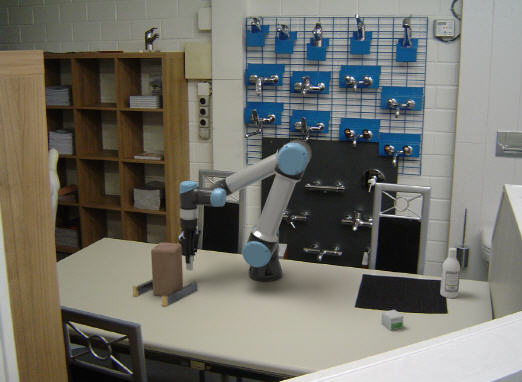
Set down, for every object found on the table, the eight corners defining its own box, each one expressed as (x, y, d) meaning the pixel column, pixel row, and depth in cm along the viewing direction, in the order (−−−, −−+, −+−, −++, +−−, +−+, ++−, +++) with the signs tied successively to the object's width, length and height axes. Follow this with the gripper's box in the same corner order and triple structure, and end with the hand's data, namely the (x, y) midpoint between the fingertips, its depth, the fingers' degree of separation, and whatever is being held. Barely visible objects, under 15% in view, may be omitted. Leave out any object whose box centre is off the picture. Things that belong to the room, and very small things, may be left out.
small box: (390, 331, 193) (391, 318, 192) (380, 324, 198) (381, 311, 197) (403, 328, 196) (404, 315, 194) (393, 321, 201) (394, 309, 200)
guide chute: (197, 290, 228) (197, 281, 227) (165, 306, 213) (165, 297, 212) (166, 280, 238) (165, 272, 237) (133, 295, 223) (132, 286, 222)
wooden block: (175, 297, 221) (173, 250, 216) (152, 295, 223) (150, 249, 218) (183, 288, 231) (182, 243, 226) (161, 286, 233) (159, 241, 228)
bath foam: (461, 297, 221) (465, 250, 217) (447, 299, 219) (451, 252, 214) (450, 290, 228) (454, 245, 223) (436, 293, 225) (440, 247, 221)
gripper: (192, 212, 239) (193, 263, 244) (171, 219, 228) (172, 272, 234) (205, 215, 235) (206, 267, 240) (185, 222, 224) (185, 276, 230)
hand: (189, 269), depth 237 cm, fingers closed
